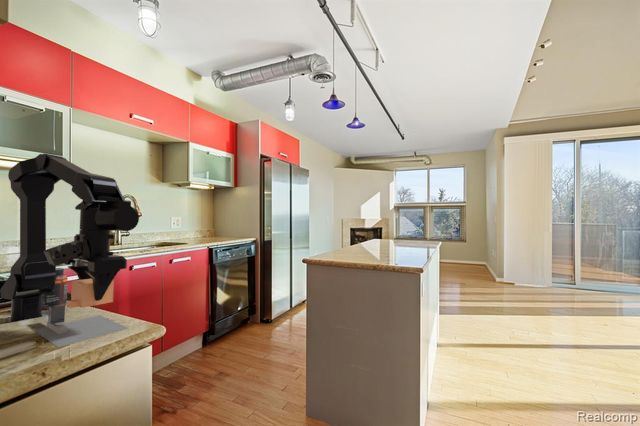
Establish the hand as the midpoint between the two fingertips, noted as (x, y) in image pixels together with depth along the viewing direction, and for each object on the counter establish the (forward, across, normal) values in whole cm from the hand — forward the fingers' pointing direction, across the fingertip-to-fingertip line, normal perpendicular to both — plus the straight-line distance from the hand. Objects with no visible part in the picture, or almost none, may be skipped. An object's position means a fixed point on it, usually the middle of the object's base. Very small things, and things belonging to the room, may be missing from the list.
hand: (92, 297), depth 69 cm
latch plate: (+8, -2, -1) cm, 9 cm away
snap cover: (+1, 0, 0) cm, 1 cm away
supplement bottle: (+8, -32, +2) cm, 33 cm away
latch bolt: (+6, -9, -5) cm, 12 cm away
